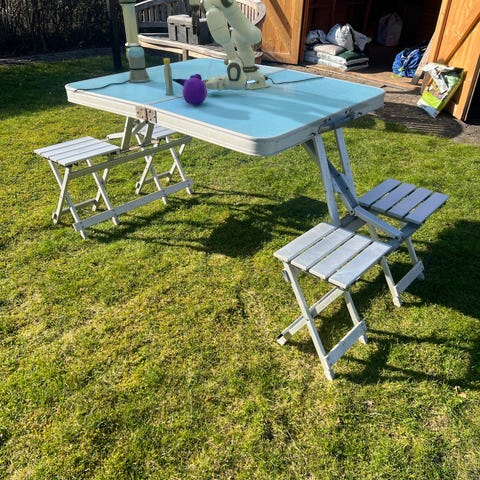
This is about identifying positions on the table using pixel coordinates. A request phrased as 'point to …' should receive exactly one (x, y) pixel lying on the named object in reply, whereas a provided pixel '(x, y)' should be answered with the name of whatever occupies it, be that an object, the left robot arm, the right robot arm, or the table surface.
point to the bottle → (168, 79)
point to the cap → (166, 60)
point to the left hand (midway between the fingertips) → (196, 35)
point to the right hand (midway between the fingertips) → (201, 82)
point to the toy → (193, 89)
